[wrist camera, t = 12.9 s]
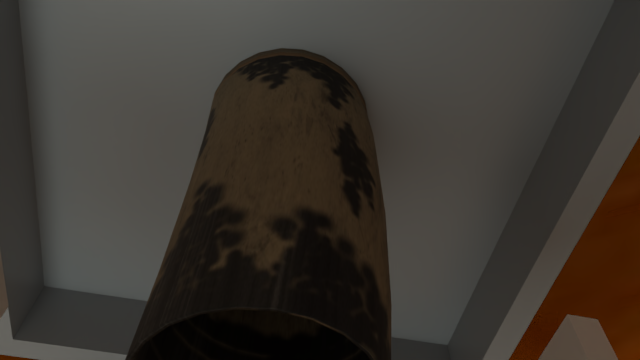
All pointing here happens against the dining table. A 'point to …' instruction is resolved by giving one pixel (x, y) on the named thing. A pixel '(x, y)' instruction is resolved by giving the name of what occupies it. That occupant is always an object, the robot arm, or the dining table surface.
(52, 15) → the box
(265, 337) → the mug
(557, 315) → the dining table surface
